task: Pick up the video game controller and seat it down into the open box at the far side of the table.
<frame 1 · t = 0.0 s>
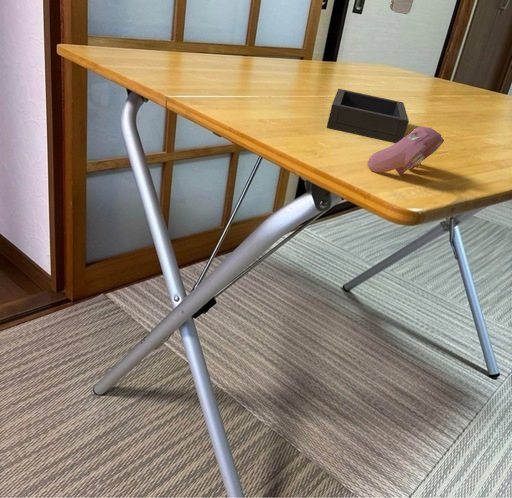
hand: (398, 12, 57), 17 cm above the table, tool pointing down, fingers open, 8 cm apart
open box: (364, 124, 84), on the table
video game controller: (400, 172, 64), on the table
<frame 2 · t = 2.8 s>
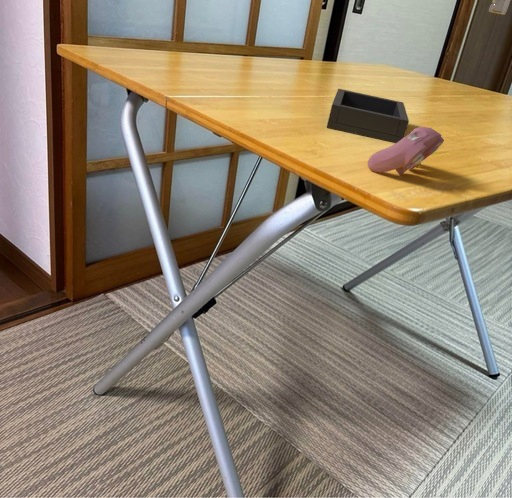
hand: (451, 5, 55), 19 cm above the table, tool pointing down, fingers open, 8 cm apart
nothing on the table moved.
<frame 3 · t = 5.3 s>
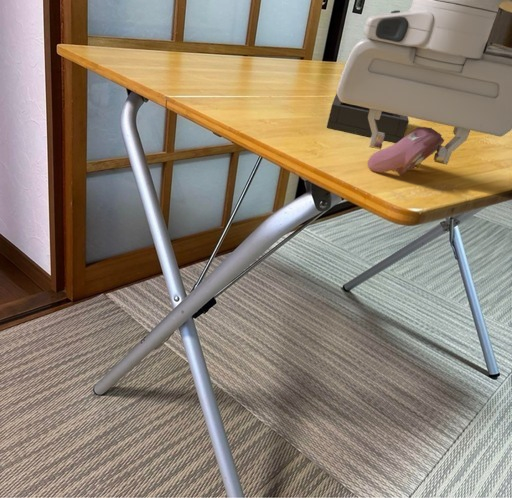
hand: (406, 154, 63), 2 cm above the table, tool pointing down, fingers closed on video game controller, 6 cm apart
video game controller: (400, 172, 64), on the table, touching gripper
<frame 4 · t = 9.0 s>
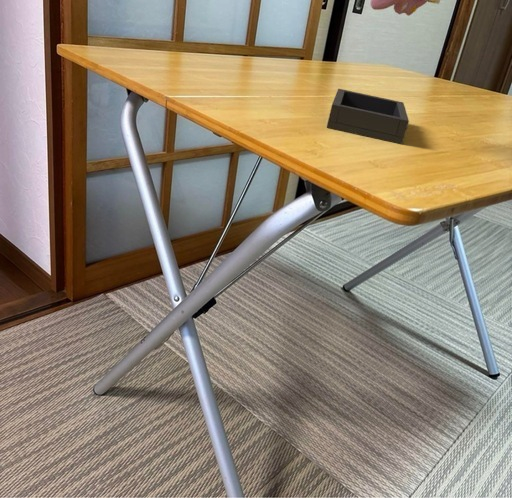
video game controller: (399, 15, 74), point 17 cm above the table, touching gripper
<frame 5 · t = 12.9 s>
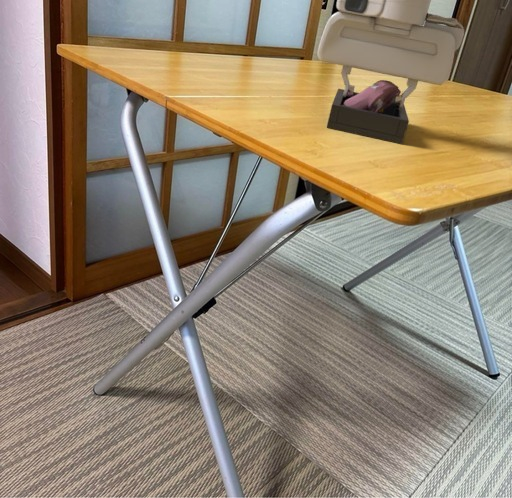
hand: (371, 102, 82), 4 cm above the table, tool pointing down, fingers closed on video game controller, 6 cm apart
video game controller: (367, 116, 83), point 1 cm above the table, touching gripper
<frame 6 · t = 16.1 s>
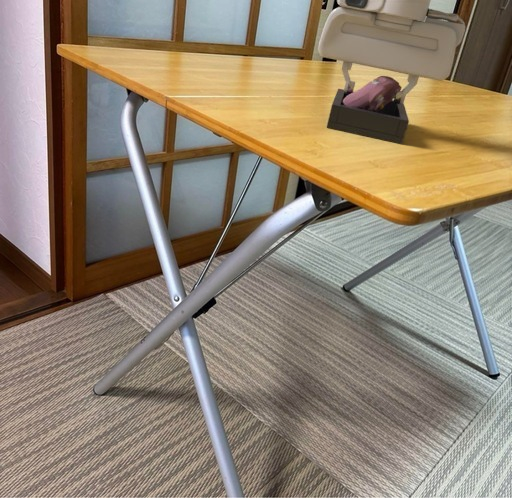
hand: (372, 98, 82), 4 cm above the table, tool pointing down, fingers closed on video game controller, 6 cm apart
video game controller: (368, 112, 83), point 2 cm above the table, touching gripper
when the fingers open (4 cm above the table, at t = 18.9 s): video game controller drops 1 cm, resting on open box.
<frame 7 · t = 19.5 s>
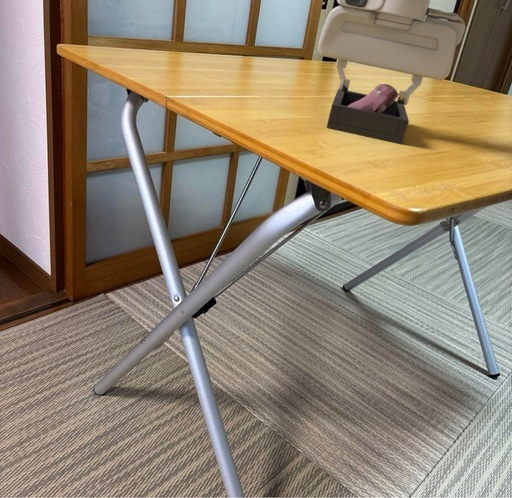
hand: (372, 97, 81), 4 cm above the table, tool pointing down, fingers open, 8 cm apart
video game controller: (367, 120, 83), point 1 cm above the table, touching open box
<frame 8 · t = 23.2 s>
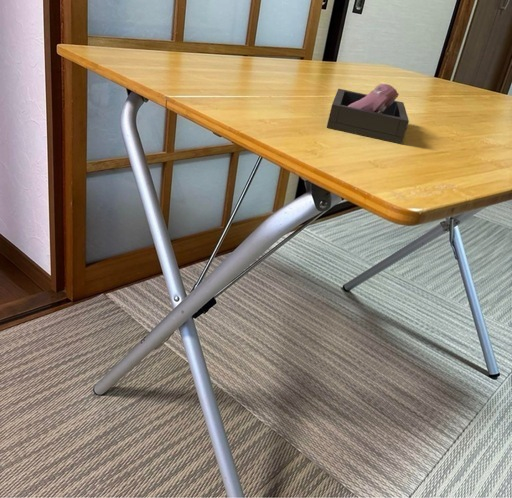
nothing on the table moved.
at the end: video game controller 0.4 cm off-centre in the open box, point 0.8 cm above the open box's base; video game controller tilted 0°; the gripper is holding nothing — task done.
